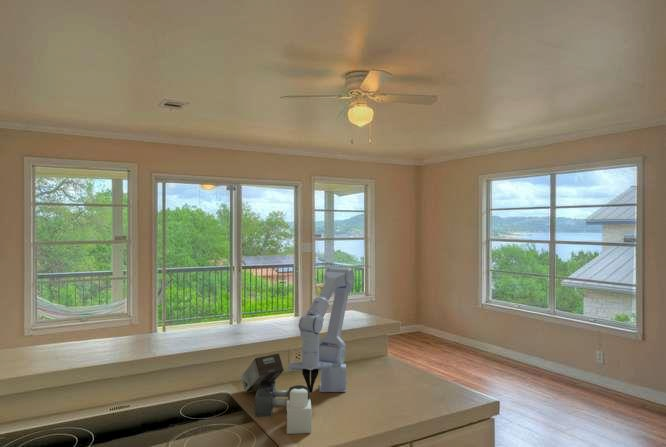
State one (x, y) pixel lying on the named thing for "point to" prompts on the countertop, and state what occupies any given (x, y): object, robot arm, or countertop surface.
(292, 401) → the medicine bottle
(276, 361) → the coffee box
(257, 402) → the mount
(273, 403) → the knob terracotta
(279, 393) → the knob dark gray
